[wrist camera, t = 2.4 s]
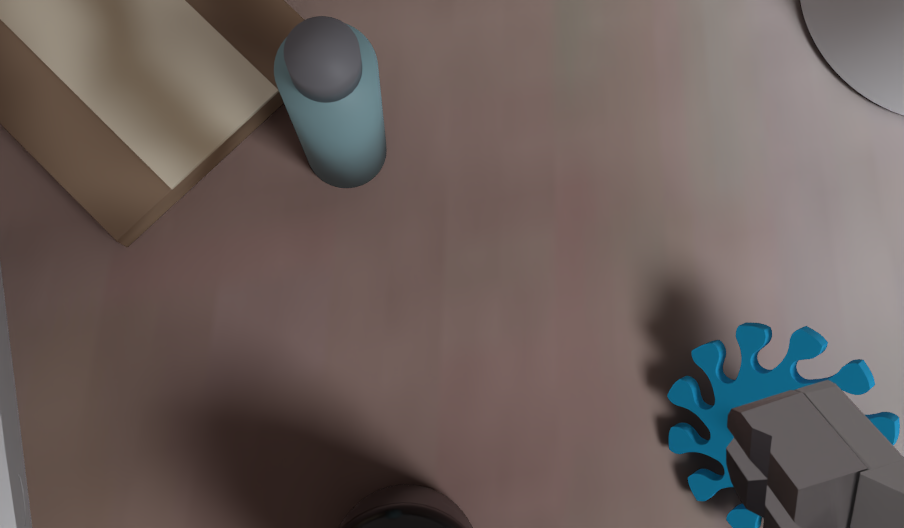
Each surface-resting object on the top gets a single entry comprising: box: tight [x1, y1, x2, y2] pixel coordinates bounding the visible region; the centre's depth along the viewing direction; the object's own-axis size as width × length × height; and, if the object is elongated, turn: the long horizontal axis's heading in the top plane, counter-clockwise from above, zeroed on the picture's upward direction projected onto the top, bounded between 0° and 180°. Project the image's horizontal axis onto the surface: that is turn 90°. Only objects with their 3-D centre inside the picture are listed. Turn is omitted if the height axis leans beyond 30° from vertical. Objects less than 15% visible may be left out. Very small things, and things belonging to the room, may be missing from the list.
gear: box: [667, 323, 900, 528], centre depth 38 cm, size 11×6×10 cm
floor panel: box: [0, 0, 304, 247], centre depth 42 cm, size 14×14×2 cm
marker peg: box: [274, 16, 386, 188], centre depth 36 cm, size 4×4×12 cm
